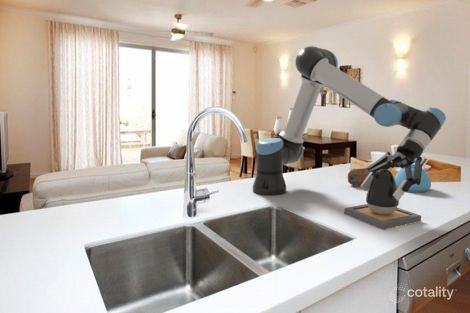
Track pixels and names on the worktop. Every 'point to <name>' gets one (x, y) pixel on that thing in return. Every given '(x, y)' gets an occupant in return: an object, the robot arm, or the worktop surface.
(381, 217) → the pad
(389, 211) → the dark rounded piece
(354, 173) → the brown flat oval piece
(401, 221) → the dock
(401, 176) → the sugar bowl
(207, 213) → the worktop surface
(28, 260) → the worktop surface
